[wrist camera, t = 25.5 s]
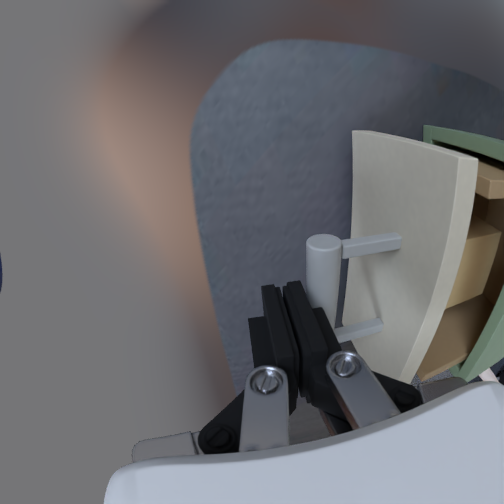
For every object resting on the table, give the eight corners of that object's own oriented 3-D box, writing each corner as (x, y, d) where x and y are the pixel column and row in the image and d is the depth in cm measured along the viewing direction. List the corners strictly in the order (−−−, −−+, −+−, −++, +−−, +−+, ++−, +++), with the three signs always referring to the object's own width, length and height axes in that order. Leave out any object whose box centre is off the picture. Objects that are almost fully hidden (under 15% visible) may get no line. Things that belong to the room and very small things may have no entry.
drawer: (286, 333, 19) (314, 428, 12) (274, 133, 13) (339, 154, 6) (461, 286, 20) (510, 338, 13) (489, 144, 14) (564, 175, 7)
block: (401, 271, 16) (439, 311, 12) (411, 208, 14) (460, 241, 10) (445, 260, 17) (482, 294, 13) (456, 204, 15) (502, 231, 11)
